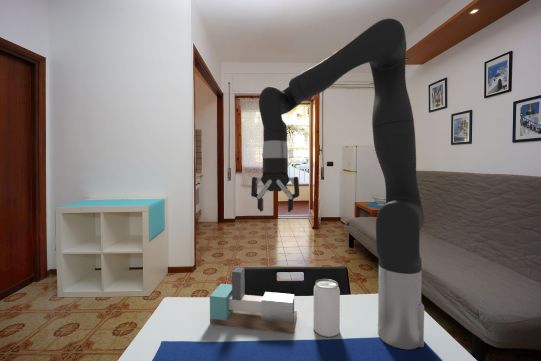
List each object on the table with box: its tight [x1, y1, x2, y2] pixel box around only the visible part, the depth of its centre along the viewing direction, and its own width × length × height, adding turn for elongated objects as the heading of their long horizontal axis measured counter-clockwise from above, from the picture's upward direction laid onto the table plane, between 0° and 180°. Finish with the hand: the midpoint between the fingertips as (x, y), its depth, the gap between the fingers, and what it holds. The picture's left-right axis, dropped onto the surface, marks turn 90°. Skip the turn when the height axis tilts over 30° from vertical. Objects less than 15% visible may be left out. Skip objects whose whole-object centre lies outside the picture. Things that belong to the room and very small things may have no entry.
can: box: [313, 278, 341, 338], centre depth 68 cm, size 6×6×12 cm
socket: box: [209, 283, 233, 320], centre depth 75 cm, size 4×8×6 cm, turn 169°
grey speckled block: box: [261, 291, 295, 324], centre depth 72 cm, size 8×5×5 cm, turn 79°
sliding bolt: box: [229, 266, 264, 313], centre depth 73 cm, size 14×4×10 cm, turn 79°
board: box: [209, 310, 298, 334], centre depth 73 cm, size 22×8×2 cm, turn 79°
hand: (275, 211), depth 81 cm, fingers open, 8 cm apart
